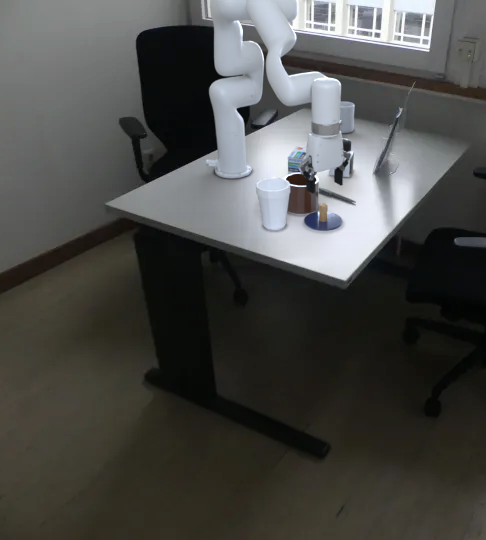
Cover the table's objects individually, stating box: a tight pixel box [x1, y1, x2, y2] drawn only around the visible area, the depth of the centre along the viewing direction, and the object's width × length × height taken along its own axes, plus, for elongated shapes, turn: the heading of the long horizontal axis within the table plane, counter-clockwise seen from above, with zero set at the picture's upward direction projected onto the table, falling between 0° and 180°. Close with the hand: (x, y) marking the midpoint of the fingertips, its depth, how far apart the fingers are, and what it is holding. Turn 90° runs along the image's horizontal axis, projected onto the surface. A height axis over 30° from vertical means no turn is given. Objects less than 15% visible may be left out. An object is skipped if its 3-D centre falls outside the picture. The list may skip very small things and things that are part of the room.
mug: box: [340, 101, 355, 134], centre depth 225 cm, size 12×8×11 cm
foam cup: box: [255, 177, 290, 230], centre depth 150 cm, size 10×9×13 cm
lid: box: [303, 202, 343, 232], centre depth 154 cm, size 11×11×6 cm
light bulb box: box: [287, 146, 312, 175], centre depth 177 cm, size 11×7×11 cm, turn 167°
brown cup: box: [283, 173, 320, 215], centre depth 161 cm, size 10×10×10 cm
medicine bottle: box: [329, 137, 355, 178], centre depth 185 cm, size 7×7×12 cm
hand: (324, 187), depth 149 cm, fingers open, 9 cm apart
